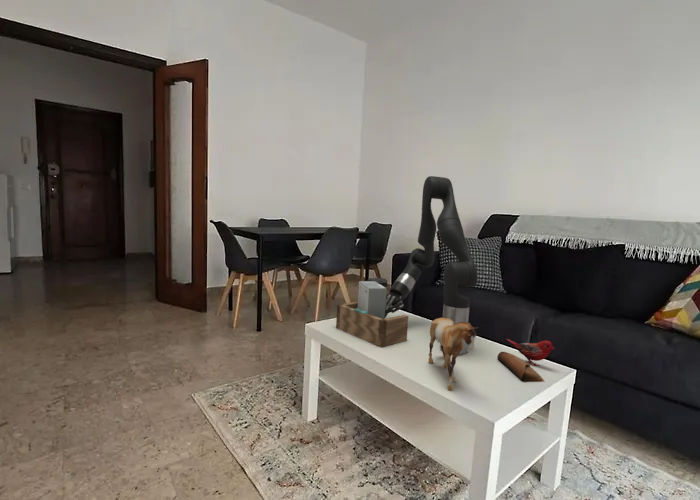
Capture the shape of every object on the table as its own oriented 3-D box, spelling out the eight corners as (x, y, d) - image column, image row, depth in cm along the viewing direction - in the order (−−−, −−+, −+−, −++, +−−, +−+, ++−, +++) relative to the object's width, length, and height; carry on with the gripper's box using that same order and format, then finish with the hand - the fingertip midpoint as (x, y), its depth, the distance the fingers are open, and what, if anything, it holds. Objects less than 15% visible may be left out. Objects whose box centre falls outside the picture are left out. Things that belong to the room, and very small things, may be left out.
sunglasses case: (547, 382, 126) (539, 364, 125) (528, 392, 126) (519, 375, 125) (519, 359, 144) (511, 344, 143) (501, 369, 144) (494, 353, 143)
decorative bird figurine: (550, 372, 134) (553, 343, 133) (501, 355, 148) (504, 328, 147) (554, 370, 136) (557, 342, 135) (505, 353, 150) (508, 327, 149)
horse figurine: (473, 397, 113) (479, 327, 111) (445, 397, 113) (452, 325, 111) (443, 355, 144) (447, 299, 142) (421, 355, 144) (426, 298, 141)
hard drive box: (383, 337, 160) (387, 288, 158) (365, 338, 158) (368, 288, 156) (372, 325, 175) (375, 280, 173) (355, 326, 173) (358, 280, 171)
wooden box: (406, 340, 158) (408, 314, 157) (381, 347, 149) (383, 319, 148) (360, 322, 178) (362, 299, 177) (336, 327, 169) (337, 303, 168)
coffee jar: (369, 320, 183) (372, 280, 181) (361, 315, 190) (364, 276, 188) (388, 318, 187) (390, 279, 185) (379, 313, 194) (382, 276, 192)
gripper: (387, 277, 176) (365, 308, 170) (410, 283, 166) (387, 317, 160) (395, 288, 180) (373, 319, 174) (418, 294, 170) (396, 327, 164)
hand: (380, 318), depth 167 cm, fingers closed
